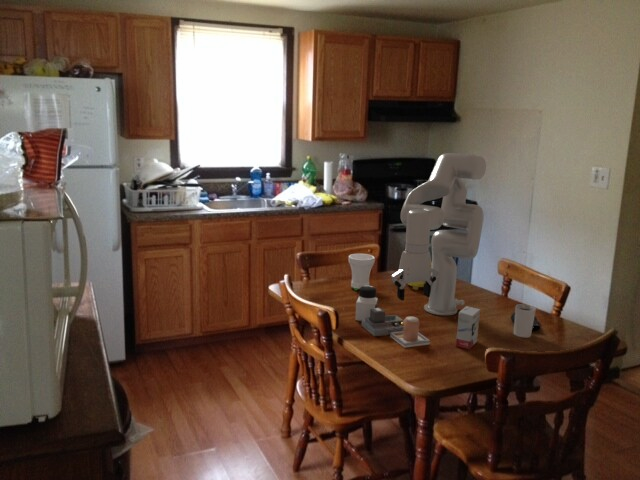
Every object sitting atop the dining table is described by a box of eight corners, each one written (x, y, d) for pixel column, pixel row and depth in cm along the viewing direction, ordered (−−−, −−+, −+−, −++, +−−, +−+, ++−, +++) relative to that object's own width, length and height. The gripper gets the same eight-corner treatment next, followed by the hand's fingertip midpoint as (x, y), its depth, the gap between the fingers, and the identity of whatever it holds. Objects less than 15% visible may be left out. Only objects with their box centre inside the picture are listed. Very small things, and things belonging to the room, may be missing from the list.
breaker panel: (396, 321, 210) (397, 312, 210) (410, 332, 201) (411, 322, 201) (361, 325, 205) (362, 315, 204) (374, 336, 196) (374, 326, 195)
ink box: (469, 350, 188) (472, 315, 186) (454, 346, 191) (458, 312, 188) (477, 341, 195) (480, 308, 193) (463, 338, 198) (466, 305, 195)
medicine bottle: (374, 322, 209) (376, 290, 206) (355, 320, 210) (356, 289, 208) (376, 316, 216) (378, 285, 213) (357, 314, 217) (359, 283, 214)
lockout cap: (412, 334, 197) (414, 315, 195) (420, 340, 193) (422, 320, 191) (399, 336, 195) (401, 316, 194) (407, 342, 191) (409, 322, 189)
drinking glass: (522, 339, 199) (525, 311, 197) (508, 332, 205) (511, 305, 203) (536, 336, 202) (540, 309, 200) (522, 329, 208) (525, 303, 206)
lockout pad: (414, 333, 200) (415, 329, 200) (429, 344, 191) (429, 340, 191) (390, 336, 197) (390, 332, 196) (404, 347, 188) (404, 343, 188)
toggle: (379, 320, 204) (380, 307, 203) (384, 323, 201) (385, 310, 199) (369, 321, 202) (370, 308, 201) (374, 324, 199) (375, 311, 198)
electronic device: (542, 337, 206) (534, 317, 220) (542, 323, 205) (534, 304, 218) (514, 337, 208) (509, 317, 222) (514, 323, 206) (508, 304, 220)
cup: (348, 283, 254) (349, 252, 251) (373, 285, 252) (375, 254, 249) (345, 291, 243) (347, 259, 240) (372, 293, 241) (374, 261, 238)
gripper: (433, 242, 193) (430, 291, 198) (387, 246, 187) (385, 296, 192) (446, 248, 187) (442, 298, 191) (399, 253, 181) (396, 304, 185)
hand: (413, 297), depth 191 cm, fingers open, 9 cm apart
